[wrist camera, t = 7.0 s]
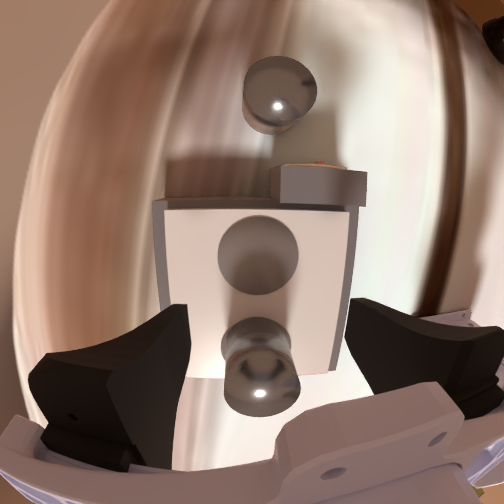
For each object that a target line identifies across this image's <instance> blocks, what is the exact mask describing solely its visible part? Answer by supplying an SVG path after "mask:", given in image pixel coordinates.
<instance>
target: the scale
mask: <svg viewBox="0 0 504 504" xmlns="http://www.w3.org/2000/svg"><path fill="white" fill-rule="evenodd" d="M366 192H367V172H363V171H353V170H347V168H346V167H341V166H334V165H324V162H314V163H312V164H283V165H280V166H277V167H274V168H271V169H270V196H269V197H175V198H162V199H158V200H155V201H152V215H153V235H154V250H155V263H156V274H157V284H158V293H159V302H160V310H161V311H163V310H164V309H166V308H167V307H169V306H170V305H172V304H187V307H188V316H189V325H190V334H191V342H192V346H191V354H190V361H189V365H188V369H187V372H186V376H185V377H199V378H225V360H226V341H227V336H228V334H229V332H230V330H231V329H232V328H233V326H235V325H236V324H237V323H238V322H240V321H242V320H244V319H247V318H251V317H264V318H268V319H271V320H273V321H275V322H276V323H278V324H279V325H280V326H281V327H282V329H283V330H284V332H285V335H286V338H287V342H288V345H289V348H290V351H291V355H292V358H293V362H294V365H295V368H296V372H297V375H298V376H301V375H313V374H323V373H328V371H334V370H336V366H337V362H338V357H339V352H340V347H341V342H342V337H343V332H344V326H345V321H346V315H347V309H348V303H349V296H350V289H351V282H352V275H353V267H354V258H355V249H356V239H357V227H358V214H359V206H362V207H366Z"/></svg>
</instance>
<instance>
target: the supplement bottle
mask: <svg viewBox="0 0 504 504" xmlns="http://www.w3.org/2000/svg"><path fill="white" fill-rule="evenodd" d="M482 31H483V35H484V38H485V40H486V42H487V44H488V46H489V48H490V50H491V51H492V53H493V54H494V56H495V57H496V58H497V59H498V61H499V62H500V63H501V64H503V65H504V15H503V16H500V17H497V18H495V19H492V20H489V21H488V22H485V23H484V24H483V26H482Z"/></svg>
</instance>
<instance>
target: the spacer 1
mask: <svg viewBox="0 0 504 504" xmlns="http://www.w3.org/2000/svg"><path fill="white" fill-rule="evenodd" d="M316 96H317V86H316V82H315V79H314V77H313V75H312V74H311V72H310V71H309V70H308V69H307V68H306V67H305V66H304V65H303V64H301V63H300V62H298V61H296V60H294V59H291V58H288V57H282V56H273V57H267V58H264V59H262V60H260V61H258V62H256V63H255V64H254V65H253V66H252V67H251V68H250V69H249V71H248V72H247V74H246V76H245V80H244V90H243V105H242V111H243V115H244V118H245V120H246V121H247V123H248V124H249V125H250V126H251V127H252V128H253V129H255V130H256V131H258V132H260V133H263V134H269V135H274V134H280V133H283V132H285V131H287V130H288V129H289V128H291V127H292V126H293V125H294V124H295V123H296V122H297V121H298V120H299V119H300V118H301V117H302V116H303V115H305V114H306V113H307V112H308V111H309V110H310V109H311V107H312V106H313V104H314V102H315V100H316Z"/></svg>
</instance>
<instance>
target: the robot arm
mask: <svg viewBox="0 0 504 504" xmlns="http://www.w3.org/2000/svg"><path fill="white" fill-rule="evenodd" d="M470 316H471V310H469V309H467V310H462V311H456V312H451V313H446V314H440V315H434V316H428V317H421V318H417V317H414V316H411V315H408V314H405V313H403V312H400V311H397V310H395V309H392V308H390V307H388V306H385V305H383V304H380V303H378V302H375V301H372V300H370V299H366V298H351V299H350V306H349V312H348V319H347V325H346V331H345V336H344V337H345V340H346V343H347V346H348V348H349V350H350V353H351V355H352V357H353V358H354V360H355V362H356V364H357V365H358V367H359V369H360V370H361V372H362V374H363V375H364V377H365V379H366V381H367V382H368V384H369V386H370V388H371V390H372V391H373V393H374V395H373V396H368V397H363V398H358V399H353V400H348V401H342V402H336V403H330V404H326V405H323V406H320V407H317V408H313V409H310V410H306V411H304V412H303V413H301V414H300V415H298V416H297V417H295V418H294V419H292V420H291V421H289V422H288V423H286V424H285V425H284V426H283V428H282V429H281V431H280V433H279V435H278V436H277V438H276V441H275V450H274V455H273V457H272V459H267V460H263V461H258V462H253V463H248V464H243V465H237V466H231V467H225V468H218V469H210V470H201V471H190V472H185V471H175V470H172V451H173V438H174V428H175V420H176V412H177V406H178V401H179V397H180V394H181V390H182V387H183V383H184V380H185V376H186V372H187V369H188V365H189V361H190V354H191V346H192V342H191V334H190V325H189V316H188V307H187V304H172V305H170V306H169V307H167V308H166V309H164V310H163V311H161V312H160V313H159V314H157V315H156V316H154V317H153V318H151V319H150V320H148V321H147V322H145V323H143V324H142V325H140V326H139V327H137V328H135V329H134V330H132V331H130V332H128V333H126V334H124V335H122V336H119V337H117V338H115V339H112V340H109V341H107V342H104V343H101V344H98V345H95V346H91V347H87V348H83V349H78V350H72V351H65V352H55V353H46V354H45V356H44V357H43V358H42V359H41V360H40V361H39V363H38V364H37V365H36V366H35V367H34V369H33V370H32V371H31V372H30V373H29V376H28V383H29V388H30V391H31V393H32V395H33V398H34V399H35V401H36V403H37V405H38V406H39V408H40V410H41V411H42V413H43V415H44V416H45V418H46V419H47V421H48V425H47V427H46V428H45V429H44V428H43V427H42V426H40V425H39V424H37V423H35V422H33V421H31V420H28V419H26V418H24V417H21V416H19V415H15V416H14V418H13V419H12V420H11V422H10V423H9V425H8V426H7V428H6V429H5V431H4V432H3V434H2V435H1V437H0V474H1V475H2V476H3V477H4V478H5V479H6V480H7V481H8V482H9V483H10V484H11V485H12V486H13V487H15V488H16V489H17V490H18V491H19V492H20V493H21V494H22V495H24V496H25V497H26V498H27V499H29V500H30V501H32V502H34V503H36V504H482V503H481V501H480V499H479V497H478V496H477V494H476V492H475V491H474V489H473V487H472V486H474V487H475V488H484V487H489V486H493V485H497V484H501V483H504V330H503V329H502V328H500V327H498V326H488V327H480V326H479V325H478V324H476V323H475V322H474V321H472V320H471V319H470ZM471 485H472V486H471Z"/></svg>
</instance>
